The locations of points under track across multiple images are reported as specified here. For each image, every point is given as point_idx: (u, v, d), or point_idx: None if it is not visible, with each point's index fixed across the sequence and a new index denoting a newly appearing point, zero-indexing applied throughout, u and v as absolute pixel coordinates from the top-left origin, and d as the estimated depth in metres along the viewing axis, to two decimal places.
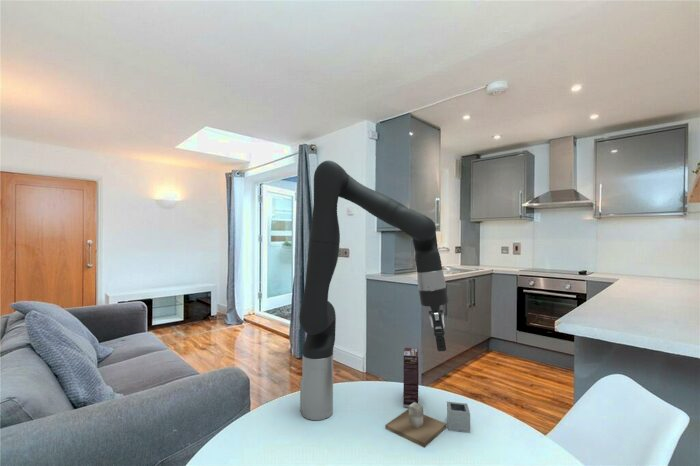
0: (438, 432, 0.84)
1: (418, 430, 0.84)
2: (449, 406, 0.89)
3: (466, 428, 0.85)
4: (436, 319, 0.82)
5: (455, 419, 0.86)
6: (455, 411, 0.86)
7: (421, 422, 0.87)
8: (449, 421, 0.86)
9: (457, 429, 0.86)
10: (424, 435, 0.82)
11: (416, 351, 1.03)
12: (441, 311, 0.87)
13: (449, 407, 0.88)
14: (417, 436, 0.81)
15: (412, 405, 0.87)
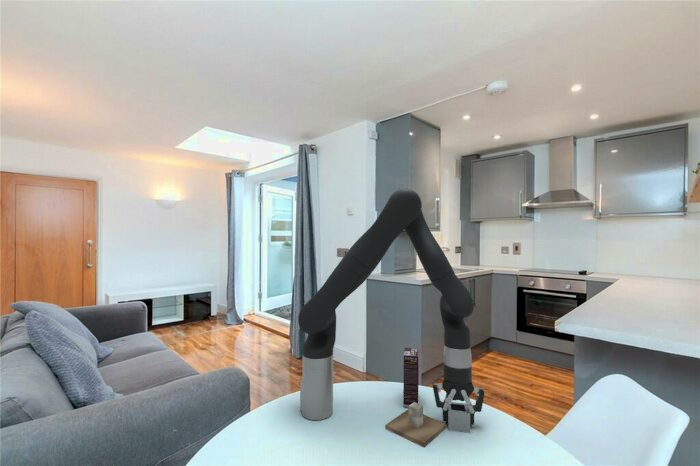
0: (438, 432, 0.84)
1: (418, 430, 0.84)
2: (449, 406, 0.89)
3: (466, 428, 0.85)
4: None
5: (455, 419, 0.86)
6: (455, 411, 0.86)
7: (421, 422, 0.87)
8: (449, 421, 0.86)
9: (457, 429, 0.86)
10: (424, 435, 0.82)
11: (416, 351, 1.03)
12: None
13: (449, 407, 0.88)
14: (417, 436, 0.81)
15: (412, 405, 0.87)
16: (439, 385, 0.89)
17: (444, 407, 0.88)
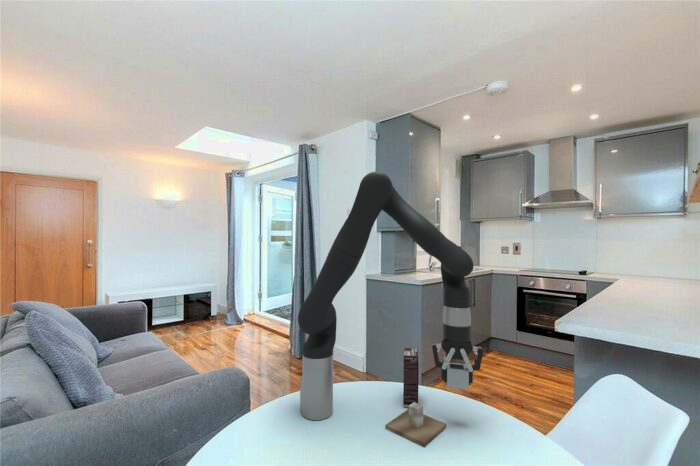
0: (438, 432, 0.84)
1: (418, 430, 0.84)
2: (448, 366, 0.90)
3: (464, 386, 0.86)
4: None
5: (454, 377, 0.87)
6: (454, 369, 0.87)
7: (421, 422, 0.87)
8: (448, 379, 0.87)
9: (456, 387, 0.86)
10: (424, 435, 0.82)
11: (416, 351, 1.03)
12: None
13: (448, 366, 0.89)
14: (417, 436, 0.81)
15: (412, 405, 0.87)
16: (438, 345, 0.90)
17: (443, 366, 0.89)
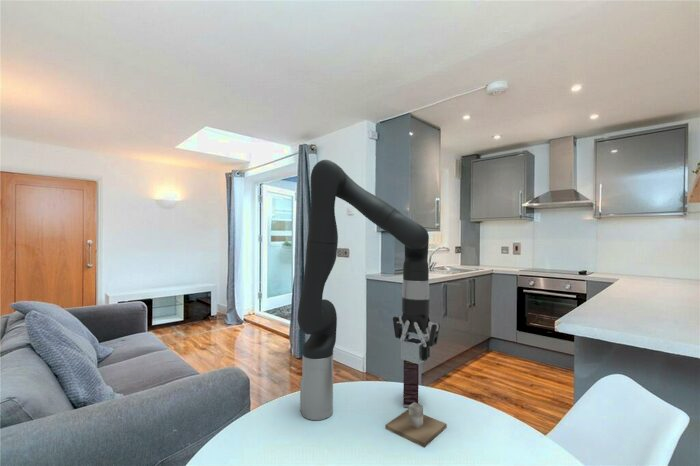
0: (438, 432, 0.84)
1: (418, 430, 0.84)
2: (407, 339, 0.90)
3: (415, 359, 0.85)
4: (436, 330, 0.84)
5: (406, 349, 0.87)
6: (407, 342, 0.87)
7: (421, 422, 0.87)
8: (401, 350, 0.88)
9: (408, 359, 0.86)
10: (424, 435, 0.82)
11: None
12: None
13: (406, 339, 0.89)
14: (417, 436, 0.81)
15: (412, 405, 0.87)
16: (399, 317, 0.92)
17: (401, 338, 0.90)
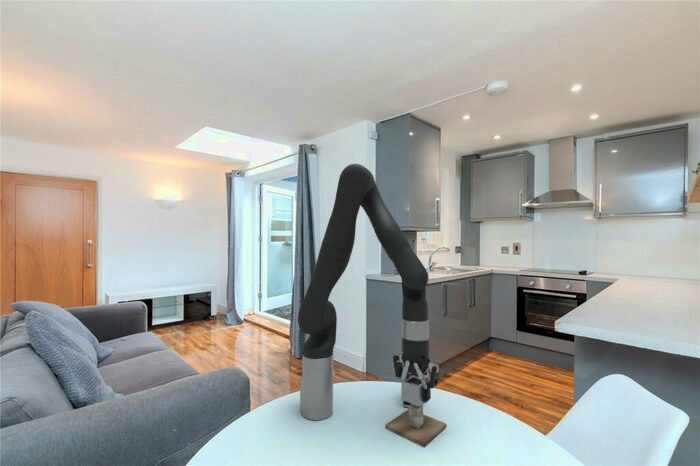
0: (438, 432, 0.84)
1: (418, 430, 0.84)
2: (407, 378, 0.89)
3: (416, 401, 0.84)
4: (436, 372, 0.83)
5: (407, 390, 0.86)
6: (408, 383, 0.86)
7: (421, 422, 0.87)
8: (402, 391, 0.87)
9: (408, 400, 0.86)
10: (424, 435, 0.82)
11: None
12: None
13: (407, 379, 0.89)
14: (417, 436, 0.81)
15: (412, 405, 0.87)
16: (399, 356, 0.91)
17: (401, 378, 0.89)
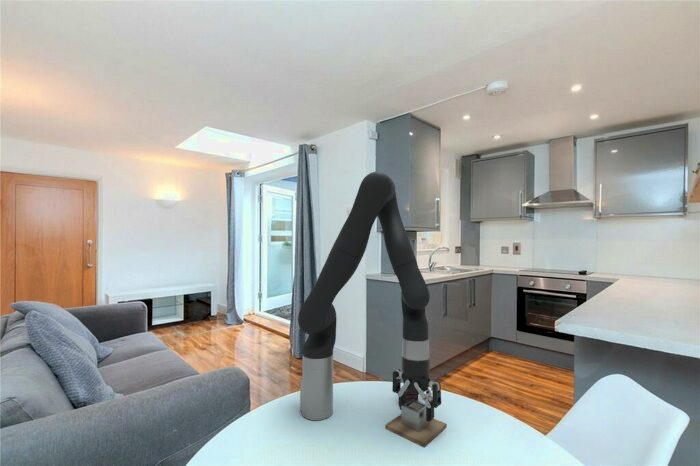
0: (438, 432, 0.84)
1: None
2: (407, 402, 0.89)
3: (416, 427, 0.84)
4: (438, 390, 0.83)
5: (407, 415, 0.86)
6: (407, 407, 0.86)
7: None
8: (402, 416, 0.87)
9: (408, 426, 0.85)
10: (424, 435, 0.82)
11: None
12: None
13: (407, 403, 0.88)
14: (417, 436, 0.81)
15: (412, 405, 0.87)
16: (399, 373, 0.91)
17: (398, 393, 0.90)
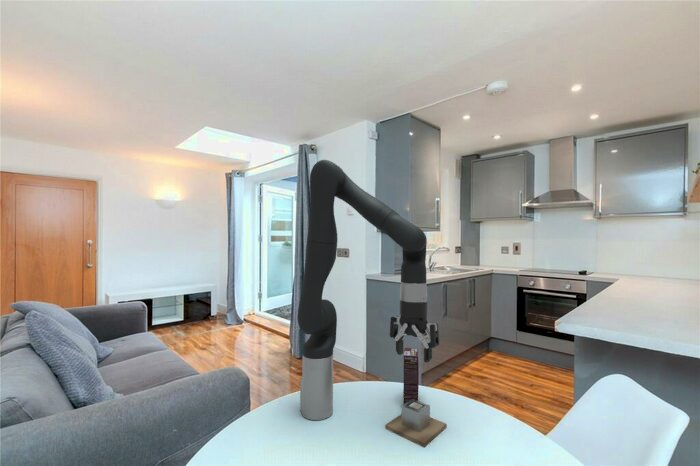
0: (438, 432, 0.84)
1: None
2: (407, 402, 0.89)
3: (416, 427, 0.84)
4: (435, 330, 0.83)
5: (407, 415, 0.86)
6: (407, 407, 0.86)
7: None
8: (402, 416, 0.87)
9: (408, 426, 0.85)
10: (424, 435, 0.82)
11: (416, 351, 1.03)
12: None
13: (407, 403, 0.88)
14: (417, 436, 0.81)
15: (412, 405, 0.87)
16: (397, 318, 0.91)
17: (396, 337, 0.90)
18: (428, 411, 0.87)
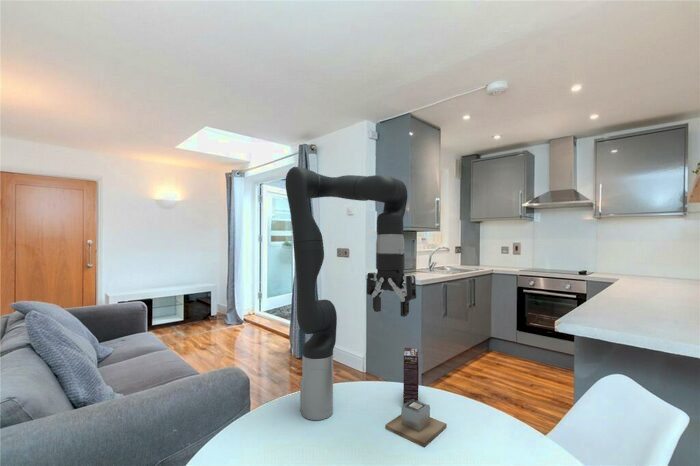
0: (438, 432, 0.84)
1: None
2: (407, 402, 0.89)
3: (416, 427, 0.84)
4: (412, 282, 0.79)
5: (407, 415, 0.86)
6: (407, 407, 0.86)
7: None
8: (402, 416, 0.87)
9: (408, 426, 0.85)
10: (424, 435, 0.82)
11: (416, 351, 1.03)
12: None
13: (407, 403, 0.88)
14: (417, 436, 0.81)
15: (412, 405, 0.87)
16: (374, 274, 0.87)
17: (372, 294, 0.86)
18: (428, 411, 0.87)
